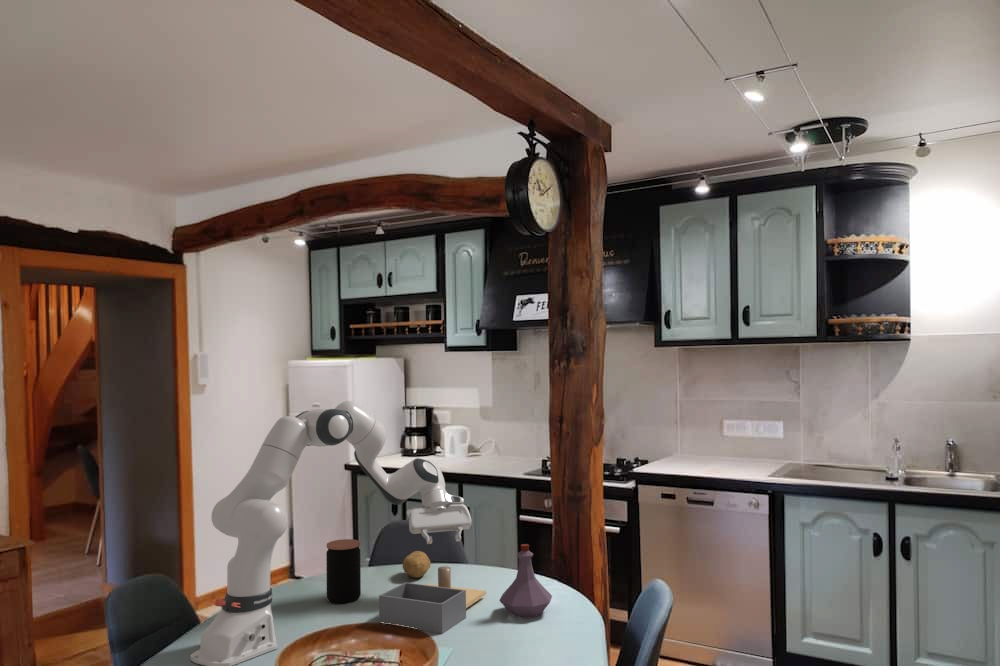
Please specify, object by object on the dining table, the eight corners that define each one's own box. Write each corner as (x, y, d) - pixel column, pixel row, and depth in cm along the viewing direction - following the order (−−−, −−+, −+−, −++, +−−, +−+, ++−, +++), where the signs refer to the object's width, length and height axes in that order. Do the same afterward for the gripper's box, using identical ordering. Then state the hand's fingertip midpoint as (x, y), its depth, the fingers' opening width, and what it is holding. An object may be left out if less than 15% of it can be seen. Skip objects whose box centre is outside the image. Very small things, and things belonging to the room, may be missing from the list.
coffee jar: (364, 594, 236) (364, 539, 237) (355, 605, 226) (354, 547, 227) (333, 594, 238) (332, 538, 238) (321, 604, 227) (321, 546, 228)
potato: (399, 582, 249) (399, 559, 250) (406, 571, 263) (405, 549, 264) (427, 582, 249) (427, 559, 250) (432, 571, 263) (432, 549, 264)
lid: (465, 614, 217) (464, 577, 218) (402, 605, 226) (401, 570, 226) (486, 599, 231) (485, 565, 231) (425, 591, 240) (425, 559, 240)
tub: (442, 633, 200) (442, 604, 200) (379, 623, 209) (379, 595, 209) (466, 617, 213) (465, 590, 213) (405, 608, 222) (405, 582, 222)
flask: (560, 619, 210) (559, 549, 211) (505, 624, 207) (504, 553, 208) (545, 601, 226) (543, 537, 227) (493, 606, 223) (492, 540, 224)
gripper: (406, 501, 233) (413, 538, 223) (467, 497, 240) (476, 533, 230) (404, 513, 237) (410, 550, 227) (463, 508, 244) (472, 544, 234)
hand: (444, 541), depth 229 cm, fingers open, 8 cm apart
